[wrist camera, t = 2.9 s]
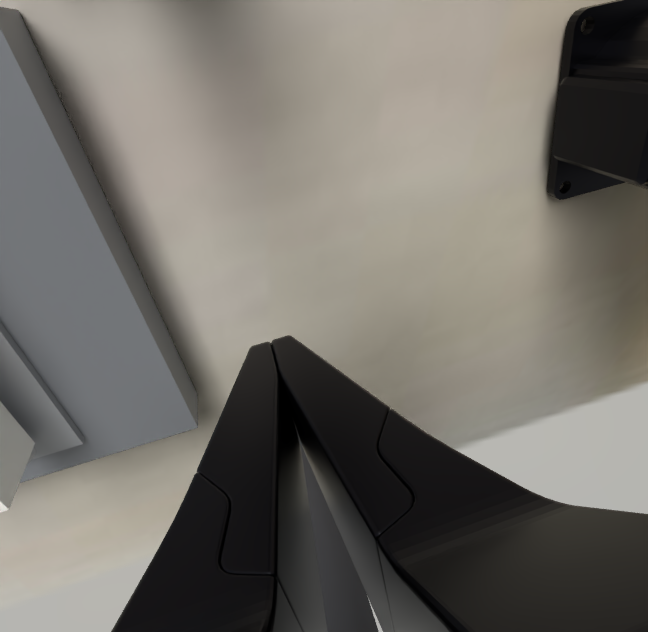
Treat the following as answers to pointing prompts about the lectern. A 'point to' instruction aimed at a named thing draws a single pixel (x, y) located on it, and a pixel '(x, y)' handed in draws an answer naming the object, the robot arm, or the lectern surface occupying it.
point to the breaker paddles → (12, 456)
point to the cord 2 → (336, 567)
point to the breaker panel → (72, 290)
